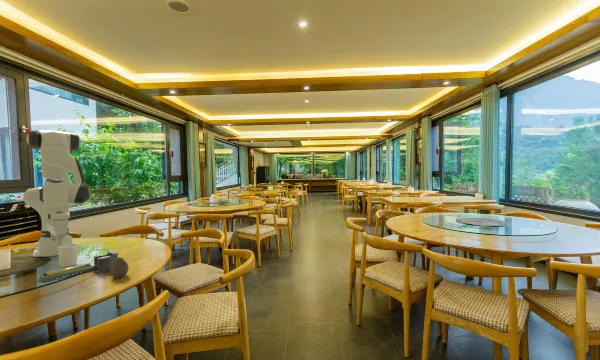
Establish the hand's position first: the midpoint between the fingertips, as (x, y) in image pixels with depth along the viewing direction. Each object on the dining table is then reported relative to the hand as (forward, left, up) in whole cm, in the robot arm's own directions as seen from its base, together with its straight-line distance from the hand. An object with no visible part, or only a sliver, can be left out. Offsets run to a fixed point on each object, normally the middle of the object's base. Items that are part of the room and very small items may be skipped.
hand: (56, 242), depth 121 cm
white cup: (-15, +7, -16) cm, 23 cm away
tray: (+1, +4, -16) cm, 16 cm away
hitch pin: (+1, +4, -15) cm, 15 cm away
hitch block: (+7, +17, -16) cm, 24 cm away
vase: (+22, +18, -16) cm, 33 cm away
